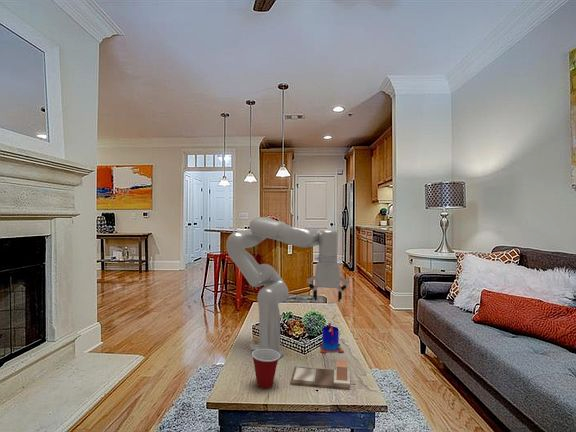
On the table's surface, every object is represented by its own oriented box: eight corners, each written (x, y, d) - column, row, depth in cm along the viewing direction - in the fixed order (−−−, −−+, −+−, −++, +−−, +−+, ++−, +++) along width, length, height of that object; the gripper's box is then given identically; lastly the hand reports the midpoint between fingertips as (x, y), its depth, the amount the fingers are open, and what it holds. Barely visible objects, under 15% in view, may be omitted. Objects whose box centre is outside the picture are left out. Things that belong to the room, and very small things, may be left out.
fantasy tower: (345, 353, 159) (345, 327, 159) (320, 354, 158) (320, 328, 158) (339, 343, 171) (340, 319, 170) (316, 344, 170) (316, 319, 169)
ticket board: (290, 384, 130) (290, 380, 130) (294, 368, 143) (294, 365, 143) (349, 390, 127) (349, 385, 127) (348, 373, 140) (348, 369, 140)
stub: (333, 383, 129) (333, 368, 129) (334, 371, 139) (334, 357, 139) (350, 385, 128) (350, 370, 128) (349, 372, 138) (349, 358, 138)
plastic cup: (282, 391, 126) (282, 358, 126) (252, 393, 124) (252, 360, 124) (277, 376, 137) (278, 346, 136) (250, 378, 135) (250, 348, 134)
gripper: (306, 260, 141) (305, 301, 142) (349, 261, 139) (348, 303, 139) (307, 257, 149) (307, 297, 149) (348, 258, 146) (348, 299, 146)
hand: (327, 300), depth 144 cm, fingers open, 9 cm apart
